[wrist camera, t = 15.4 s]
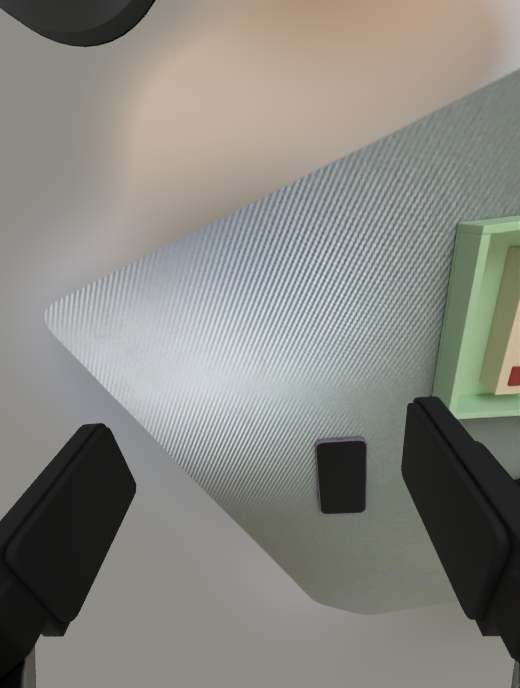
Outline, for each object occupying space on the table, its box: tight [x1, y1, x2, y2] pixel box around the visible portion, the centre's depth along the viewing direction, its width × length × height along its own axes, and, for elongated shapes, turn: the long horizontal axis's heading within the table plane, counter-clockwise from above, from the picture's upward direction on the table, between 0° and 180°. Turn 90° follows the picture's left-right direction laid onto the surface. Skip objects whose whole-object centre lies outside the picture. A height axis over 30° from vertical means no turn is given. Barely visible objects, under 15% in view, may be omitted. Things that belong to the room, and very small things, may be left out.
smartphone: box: [315, 437, 367, 514], centre depth 45 cm, size 7×1×15 cm
